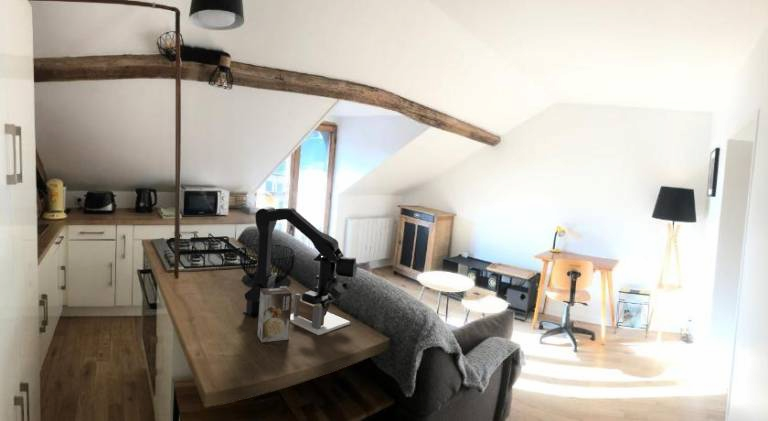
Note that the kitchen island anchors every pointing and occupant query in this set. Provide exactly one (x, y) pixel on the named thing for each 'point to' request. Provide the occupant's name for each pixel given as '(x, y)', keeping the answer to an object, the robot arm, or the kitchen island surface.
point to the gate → (308, 311)
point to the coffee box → (274, 314)
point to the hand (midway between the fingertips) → (323, 315)
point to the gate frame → (317, 319)
